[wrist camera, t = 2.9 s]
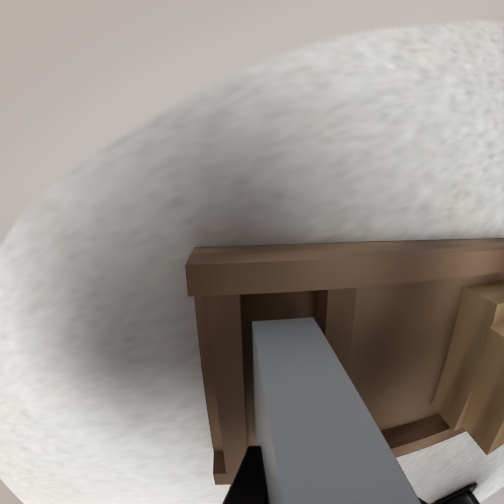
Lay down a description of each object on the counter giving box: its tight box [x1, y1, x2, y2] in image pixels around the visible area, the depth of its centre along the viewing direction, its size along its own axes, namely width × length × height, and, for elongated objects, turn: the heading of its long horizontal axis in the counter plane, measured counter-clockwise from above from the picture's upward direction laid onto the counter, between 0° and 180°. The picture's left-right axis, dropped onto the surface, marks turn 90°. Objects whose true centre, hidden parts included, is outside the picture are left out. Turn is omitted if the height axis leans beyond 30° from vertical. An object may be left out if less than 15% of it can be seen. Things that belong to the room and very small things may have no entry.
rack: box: [186, 238, 504, 485], centre depth 12 cm, size 16×11×2 cm
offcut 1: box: [432, 280, 504, 431], centre depth 12 cm, size 4×7×2 cm, turn 1°
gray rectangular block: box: [252, 317, 421, 504], centre depth 6 cm, size 2×7×9 cm, turn 1°
